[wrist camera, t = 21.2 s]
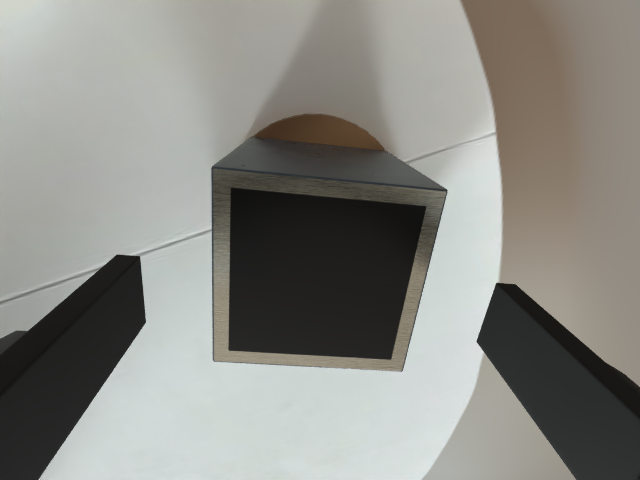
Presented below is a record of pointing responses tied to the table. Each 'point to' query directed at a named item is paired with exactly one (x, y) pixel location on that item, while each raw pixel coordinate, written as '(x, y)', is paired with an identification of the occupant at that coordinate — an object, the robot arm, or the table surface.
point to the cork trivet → (320, 131)
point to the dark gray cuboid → (319, 254)
